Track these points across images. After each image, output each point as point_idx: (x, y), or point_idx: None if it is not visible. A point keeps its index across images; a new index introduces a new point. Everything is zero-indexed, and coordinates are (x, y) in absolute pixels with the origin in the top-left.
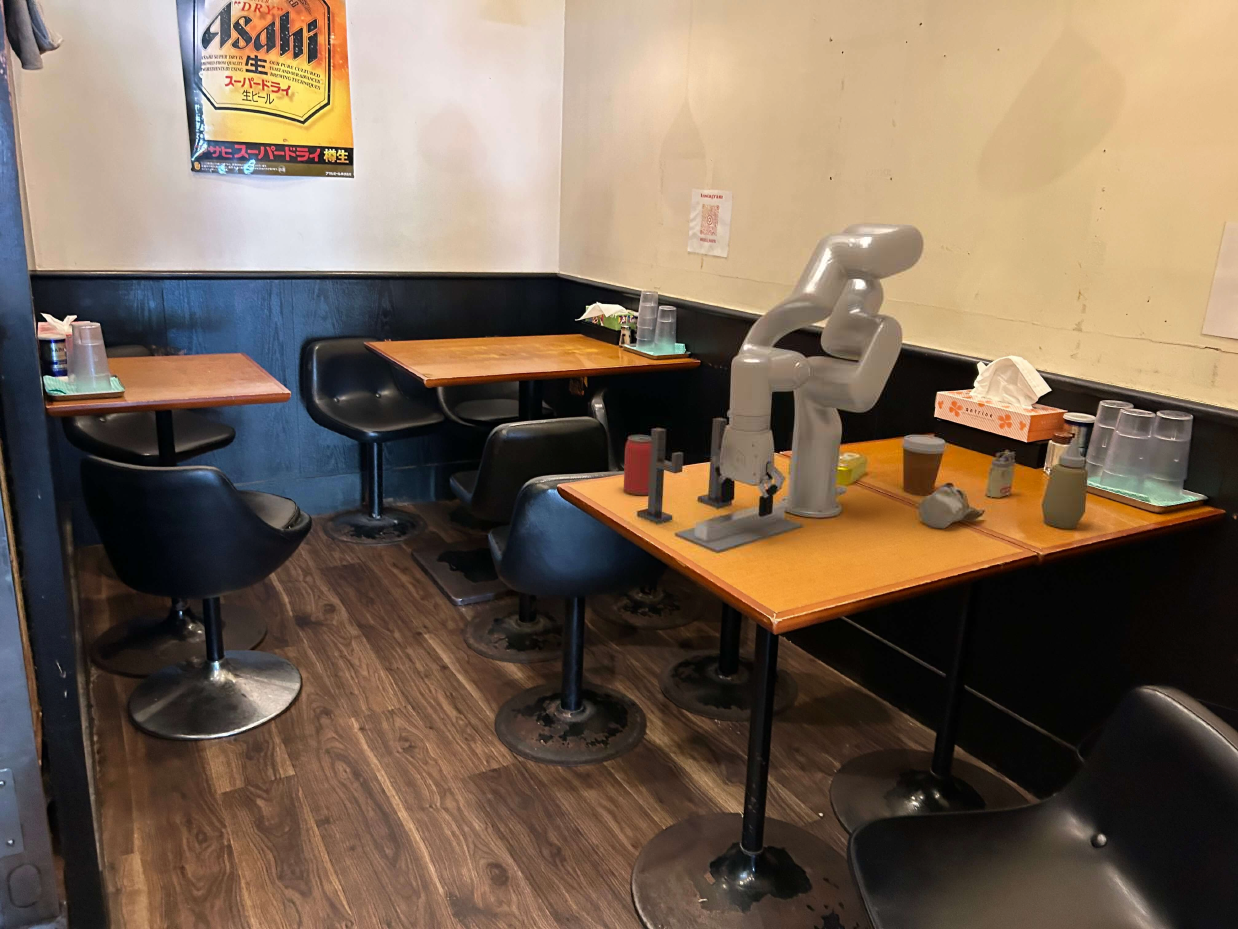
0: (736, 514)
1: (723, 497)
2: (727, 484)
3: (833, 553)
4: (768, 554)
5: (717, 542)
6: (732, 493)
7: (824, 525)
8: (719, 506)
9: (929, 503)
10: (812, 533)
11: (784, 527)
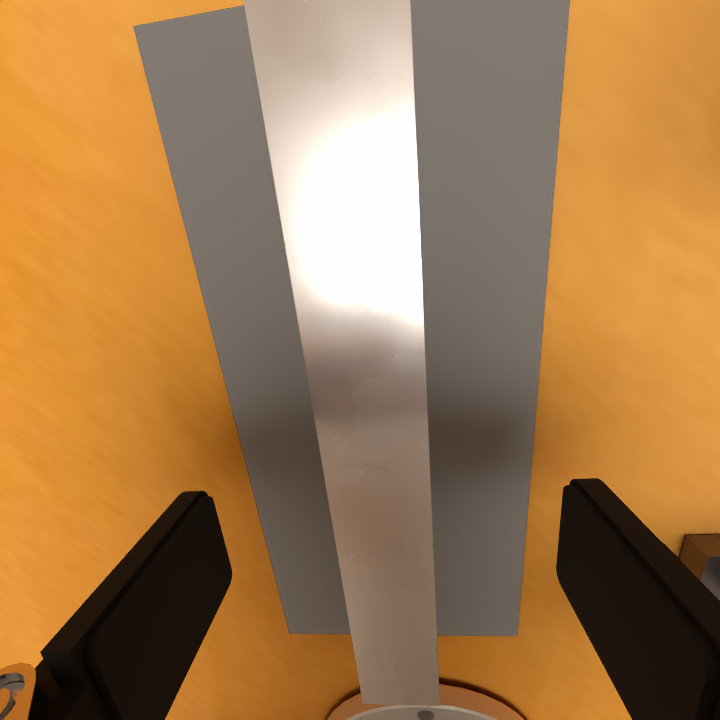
0: (383, 435)
1: (597, 515)
2: (688, 696)
3: (25, 527)
4: (63, 309)
5: (257, 138)
6: (588, 616)
7: (275, 675)
8: (691, 549)
9: None
10: (225, 605)
11: (294, 570)
